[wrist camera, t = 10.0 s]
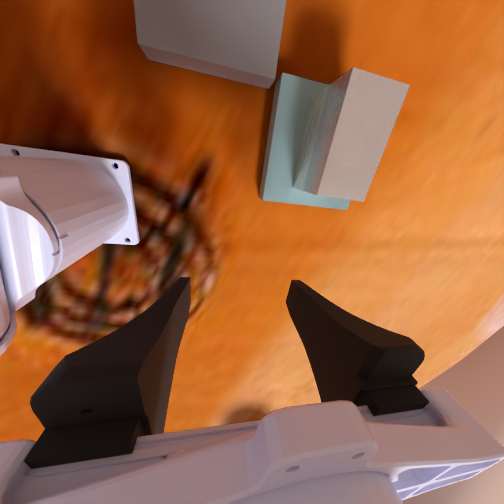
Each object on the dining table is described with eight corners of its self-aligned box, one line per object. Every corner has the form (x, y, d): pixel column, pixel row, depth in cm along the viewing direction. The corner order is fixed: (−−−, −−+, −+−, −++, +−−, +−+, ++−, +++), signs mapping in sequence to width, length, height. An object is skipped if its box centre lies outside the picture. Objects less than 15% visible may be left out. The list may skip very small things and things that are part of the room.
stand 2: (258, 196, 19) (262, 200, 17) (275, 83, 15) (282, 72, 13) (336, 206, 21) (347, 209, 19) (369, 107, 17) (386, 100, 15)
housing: (292, 187, 17) (317, 195, 13) (312, 97, 14) (353, 67, 10) (328, 192, 18) (363, 201, 14) (354, 108, 15) (409, 85, 11)
